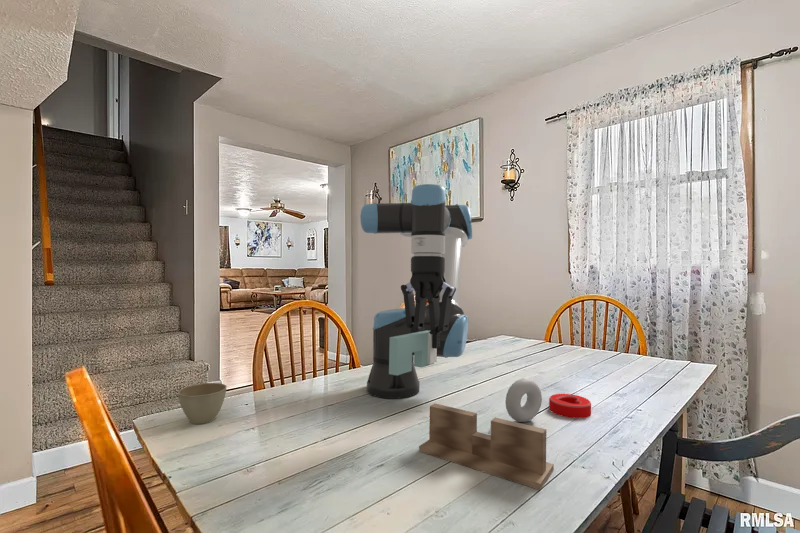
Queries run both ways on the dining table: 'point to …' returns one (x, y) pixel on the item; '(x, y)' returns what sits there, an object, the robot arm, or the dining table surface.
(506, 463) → the jig
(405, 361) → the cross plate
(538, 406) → the donut
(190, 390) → the olive beige bowl
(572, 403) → the decorative ornament
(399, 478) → the dining table surface
